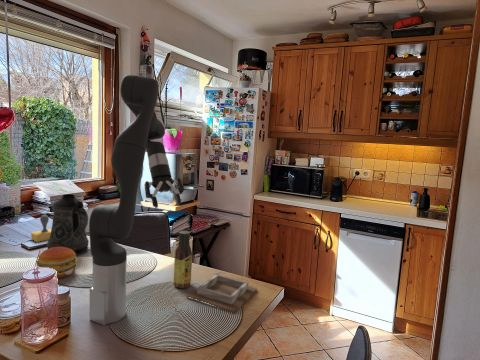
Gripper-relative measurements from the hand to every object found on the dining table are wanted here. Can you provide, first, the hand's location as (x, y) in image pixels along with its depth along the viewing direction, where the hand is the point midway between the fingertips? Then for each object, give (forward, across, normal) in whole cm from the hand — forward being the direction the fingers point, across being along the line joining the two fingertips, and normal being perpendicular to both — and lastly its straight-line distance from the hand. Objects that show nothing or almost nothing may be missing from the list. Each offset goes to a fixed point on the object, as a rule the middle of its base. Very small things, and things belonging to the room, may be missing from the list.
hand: (167, 205), depth 126 cm
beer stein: (0, -32, +47) cm, 57 cm away
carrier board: (+36, +11, -5) cm, 38 cm away
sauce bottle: (+29, 0, +5) cm, 30 cm away
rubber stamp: (-12, -43, +64) cm, 78 cm away
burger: (+13, -39, +26) cm, 48 cm away
